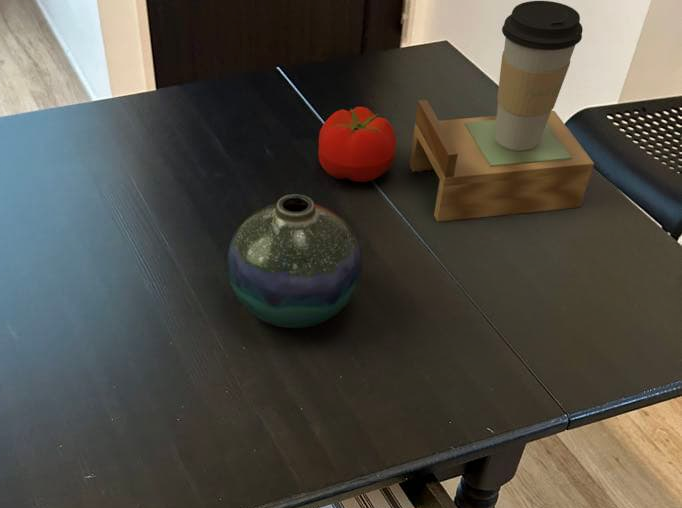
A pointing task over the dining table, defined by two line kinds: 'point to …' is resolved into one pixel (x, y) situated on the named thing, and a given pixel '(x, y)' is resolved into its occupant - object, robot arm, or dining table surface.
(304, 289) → the vase
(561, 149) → the wooden toy bed
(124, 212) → the dining table surface
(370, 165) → the tomato
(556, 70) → the coffee cup
